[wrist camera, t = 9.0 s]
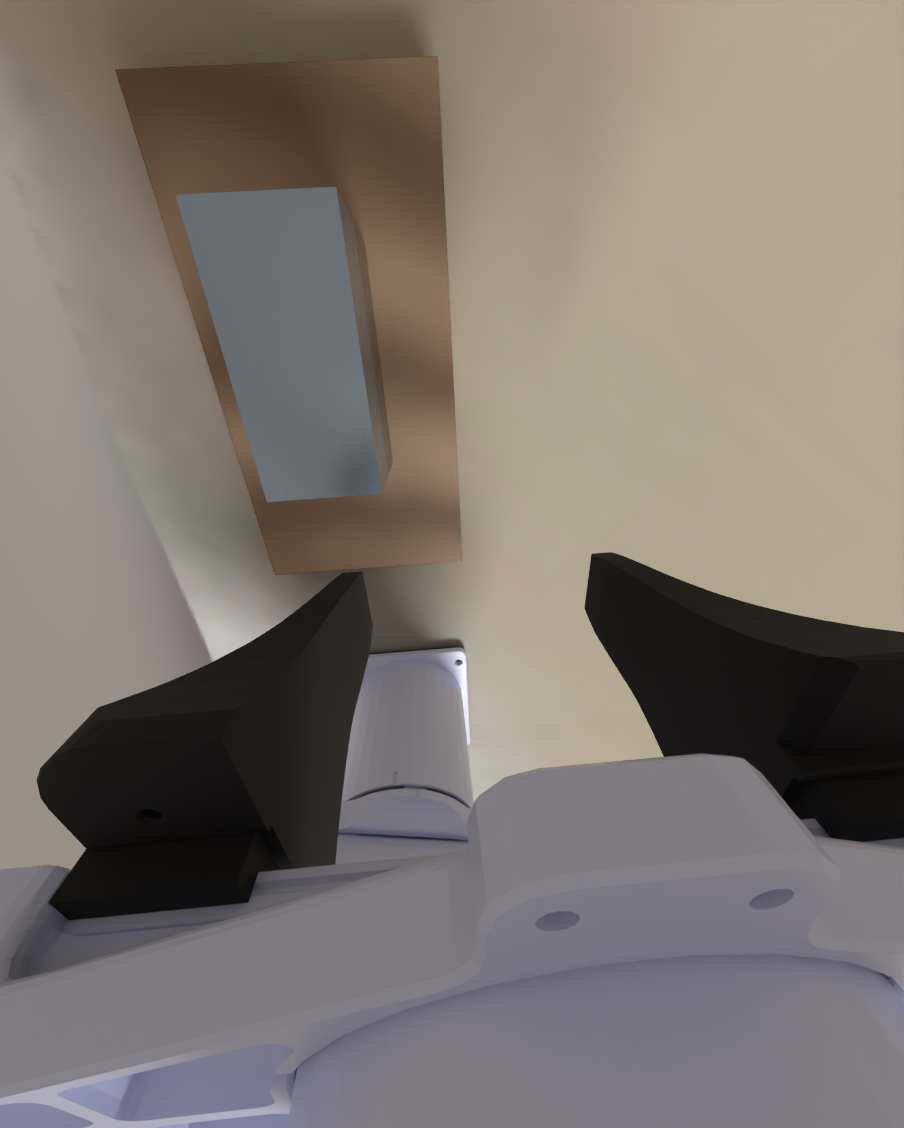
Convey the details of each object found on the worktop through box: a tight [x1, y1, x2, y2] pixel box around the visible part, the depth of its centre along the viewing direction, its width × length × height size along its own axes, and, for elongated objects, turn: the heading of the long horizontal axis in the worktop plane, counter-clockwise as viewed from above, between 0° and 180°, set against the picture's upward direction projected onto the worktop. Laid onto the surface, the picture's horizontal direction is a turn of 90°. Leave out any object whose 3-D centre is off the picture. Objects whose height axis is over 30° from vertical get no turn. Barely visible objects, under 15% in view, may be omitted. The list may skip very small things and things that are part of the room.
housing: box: [176, 187, 393, 502], centre depth 14 cm, size 4×8×5 cm, turn 3°
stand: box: [115, 56, 462, 575], centre depth 17 cm, size 18×10×2 cm, turn 3°
